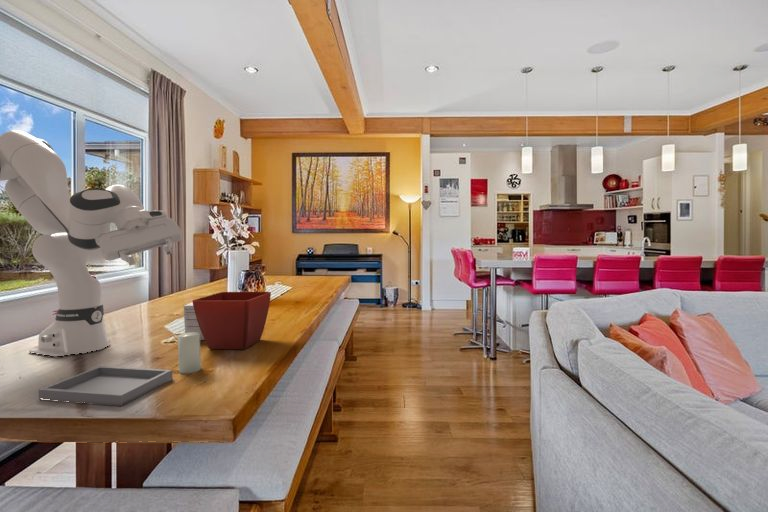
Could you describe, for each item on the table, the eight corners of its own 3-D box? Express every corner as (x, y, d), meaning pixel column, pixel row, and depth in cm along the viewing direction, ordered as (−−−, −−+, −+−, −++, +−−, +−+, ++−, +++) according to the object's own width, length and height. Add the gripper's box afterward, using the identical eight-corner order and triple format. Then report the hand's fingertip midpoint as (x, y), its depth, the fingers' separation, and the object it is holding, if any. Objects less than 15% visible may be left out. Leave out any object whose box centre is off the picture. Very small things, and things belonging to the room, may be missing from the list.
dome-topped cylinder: (174, 373, 107) (172, 337, 106) (187, 366, 112) (186, 331, 112) (192, 374, 106) (191, 337, 105) (205, 367, 111) (203, 332, 111)
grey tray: (39, 400, 90) (38, 389, 90) (100, 375, 106) (99, 365, 106) (121, 406, 87) (121, 395, 86) (172, 379, 102) (172, 370, 102)
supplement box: (192, 335, 146) (191, 301, 145) (213, 334, 147) (211, 301, 146) (184, 340, 139) (182, 305, 138) (206, 340, 140) (204, 305, 139)
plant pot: (223, 336, 144) (221, 291, 143) (273, 337, 142) (271, 291, 141) (192, 352, 126) (190, 300, 124) (249, 353, 123) (247, 300, 122)
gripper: (89, 228, 106) (104, 262, 100) (170, 209, 118) (187, 239, 112) (96, 244, 111) (111, 278, 105) (173, 224, 122) (190, 253, 116)
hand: (151, 257), depth 108 cm, fingers open, 8 cm apart
